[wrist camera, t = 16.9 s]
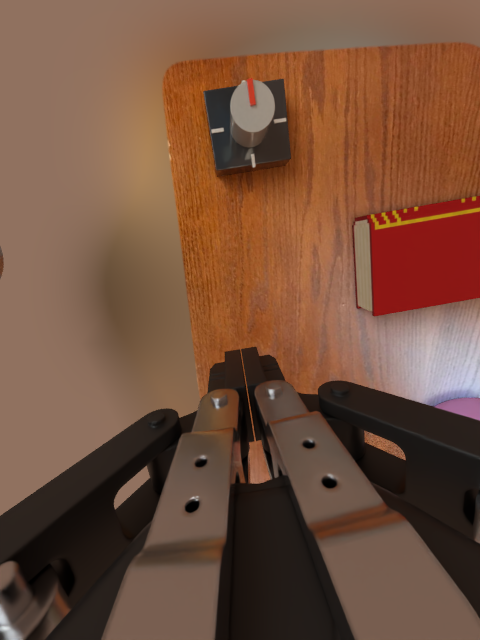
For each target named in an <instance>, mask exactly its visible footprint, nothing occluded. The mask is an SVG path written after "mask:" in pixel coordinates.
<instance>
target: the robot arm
mask: <svg viewBox="0 0 480 640" xmlns="http://www.w3.org/2000/svg"><path fill="white" fill-rule="evenodd" d="M241 351H242V357H243V363H244V369H245V376H246V382H247V388H248V394H249V400H250V406H251V412H252V419H253V425H254V431H255V437H256V441H258V440H262V445H263V452H264V458H265V461H266V465H267V468H268V472H269V475H270V478H271V480H269V481H266V482H264V483H260V484H250V458H249V449H250V447H249V442H253V441H254V435H253V429H252V422H251V416H250V409H249V403H248V396H247V390H246V384H245V378H244V372H243V365H242V359H241V353H240V349H239V350H233V351H227V352H225V362H222V363H216V364H214V366H213V367H212V368H211V369H210V376H209V384H208V393H207V394H206V395H204V396H203V397H202V399H201V400H200V404H199V407H198V410H197V411H195V412H193V413H191V414H189V415H186V416H183V417H181V418H179V416H178V413H177V412H176V411H175V410H173V409H160V410H156V411H153V412H151V413H149V414H147V415H145V416H144V417H142V418H141V419H140V420H138V421H137V422H135V423H134V424H132V425H131V426H129V427H128V428H126V429H125V430H124V431H122V432H121V433H119V434H118V435H116V436H115V437H113V438H112V439H111V440H109V441H108V442H106V443H105V444H103V445H102V446H101V447H99V448H98V449H96V450H95V451H93V452H92V453H90V454H89V455H88V456H86V457H85V458H83V459H82V460H80V461H79V462H77V463H76V464H74V465H73V466H72V467H70V468H69V469H67V470H66V471H65V472H63V473H61V474H60V475H59V476H57V477H56V478H54V479H53V480H51V481H50V482H49V483H47V484H46V485H44V486H43V487H41V488H40V489H38V490H37V491H36V492H34V493H33V494H31V495H30V496H28V497H27V498H25V499H24V500H23V501H21V502H20V503H18V504H17V505H15V506H14V507H12V508H11V509H10V510H8V511H7V512H5V513H4V514H3V515H1V516H0V640H480V420H477V419H473V418H470V417H466V416H463V415H460V414H456V413H453V412H449V411H446V410H443V409H439V408H436V407H432V406H429V405H426V404H422V403H419V402H415V401H412V400H409V399H405V398H402V397H398V396H395V395H392V394H388V393H385V392H381V391H378V390H375V389H371V388H368V387H364V386H361V385H358V384H354V383H351V382H347V381H331V382H327V383H324V384H323V385H321V386H320V387H319V389H318V395H316V394H301V393H298V392H296V391H295V389H294V387H293V386H292V385H291V384H290V383H288V382H286V381H285V379H284V376H283V374H282V372H281V370H280V368H279V365H278V363H277V361H276V359H275V358H274V357H272V356H270V355H264V356H259V354H258V351H257V348H256V347H251V348H245V349H241ZM364 430H365V431H368V432H370V433H373V434H375V435H377V436H380V437H382V438H385V439H387V440H389V441H392V442H394V443H395V444H397V445H398V446H399V447H400V448H401V449H402V450H403V452H404V454H405V457H406V461H405V460H403V459H401V458H398V457H396V456H394V455H392V454H389V453H387V452H385V451H383V450H381V449H378V448H376V447H374V446H372V445H369V444H367V443H365V439H364ZM146 465H147V468H148V472H149V475H150V479H148V480H147V481H146V482H145V483H144V484H143V485H142V486H141V487H140V488H138V490H136V491H135V492H134V493H133V494H132V495H131V496H130V497H129V498H128V499H127V500H126V501H124V502H123V503H122V504H121V505H120V506H119V507H118V508H117V509H116V510H115V509H114V499H115V496H116V494H117V492H118V491H119V489H120V488H121V487H122V486H123V485H124V484H126V483H127V482H128V481H129V480H130V479H131V478H132V477H134V476H135V475H136V474H137V473H138V472H139V471H141V470H142V469H143V468H144V467H145V466H146Z"/></svg>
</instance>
